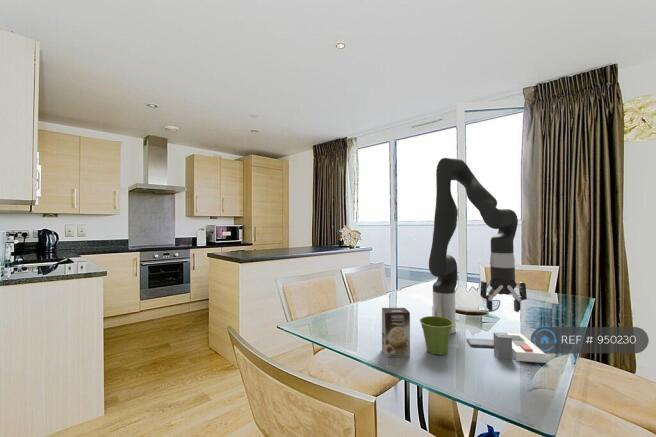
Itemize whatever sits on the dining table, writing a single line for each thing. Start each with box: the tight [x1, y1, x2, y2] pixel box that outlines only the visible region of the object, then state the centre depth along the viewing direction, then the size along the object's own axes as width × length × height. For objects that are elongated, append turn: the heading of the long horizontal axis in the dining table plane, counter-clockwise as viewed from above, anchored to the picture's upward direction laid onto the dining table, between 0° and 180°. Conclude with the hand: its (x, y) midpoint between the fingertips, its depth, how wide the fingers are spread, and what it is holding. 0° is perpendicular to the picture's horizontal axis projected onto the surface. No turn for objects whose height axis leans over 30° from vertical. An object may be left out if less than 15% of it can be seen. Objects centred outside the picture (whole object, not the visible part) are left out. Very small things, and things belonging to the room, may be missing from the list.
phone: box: [466, 337, 494, 349], centre depth 117 cm, size 12×6×1 cm, turn 80°
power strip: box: [506, 332, 546, 364], centre depth 111 cm, size 9×18×4 cm, turn 169°
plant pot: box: [418, 315, 453, 356], centre depth 112 cm, size 12×12×11 cm
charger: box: [493, 331, 513, 362], centre depth 106 cm, size 4×4×8 cm
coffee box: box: [381, 307, 411, 358], centre depth 110 cm, size 9×6×16 cm
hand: (503, 311), depth 106 cm, fingers open, 8 cm apart
